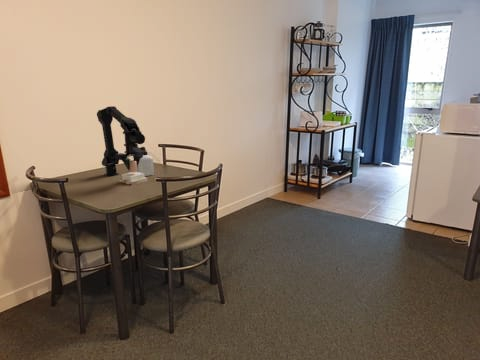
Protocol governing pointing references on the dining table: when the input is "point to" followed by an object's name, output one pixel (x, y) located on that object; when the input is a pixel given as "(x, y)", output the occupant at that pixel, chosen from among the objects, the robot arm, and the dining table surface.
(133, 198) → the dining table surface
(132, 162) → the pink small block
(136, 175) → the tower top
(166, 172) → the dining table surface
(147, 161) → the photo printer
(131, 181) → the tower base
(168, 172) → the dining table surface
